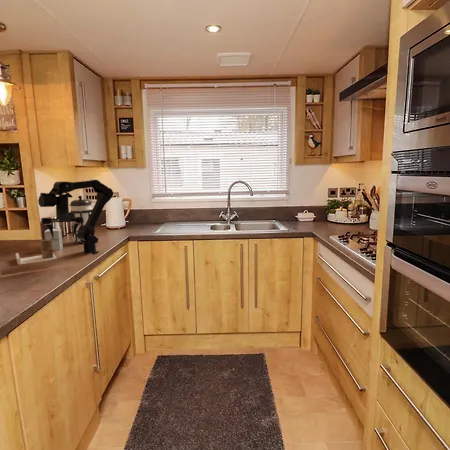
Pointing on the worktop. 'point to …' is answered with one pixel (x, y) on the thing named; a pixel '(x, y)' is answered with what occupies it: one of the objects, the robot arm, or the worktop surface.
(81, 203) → the coffee press
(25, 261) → the white shallow tray
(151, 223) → the worktop surface
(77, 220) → the robot arm
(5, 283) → the worktop surface
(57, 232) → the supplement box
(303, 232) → the worktop surface
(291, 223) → the worktop surface
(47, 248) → the block
